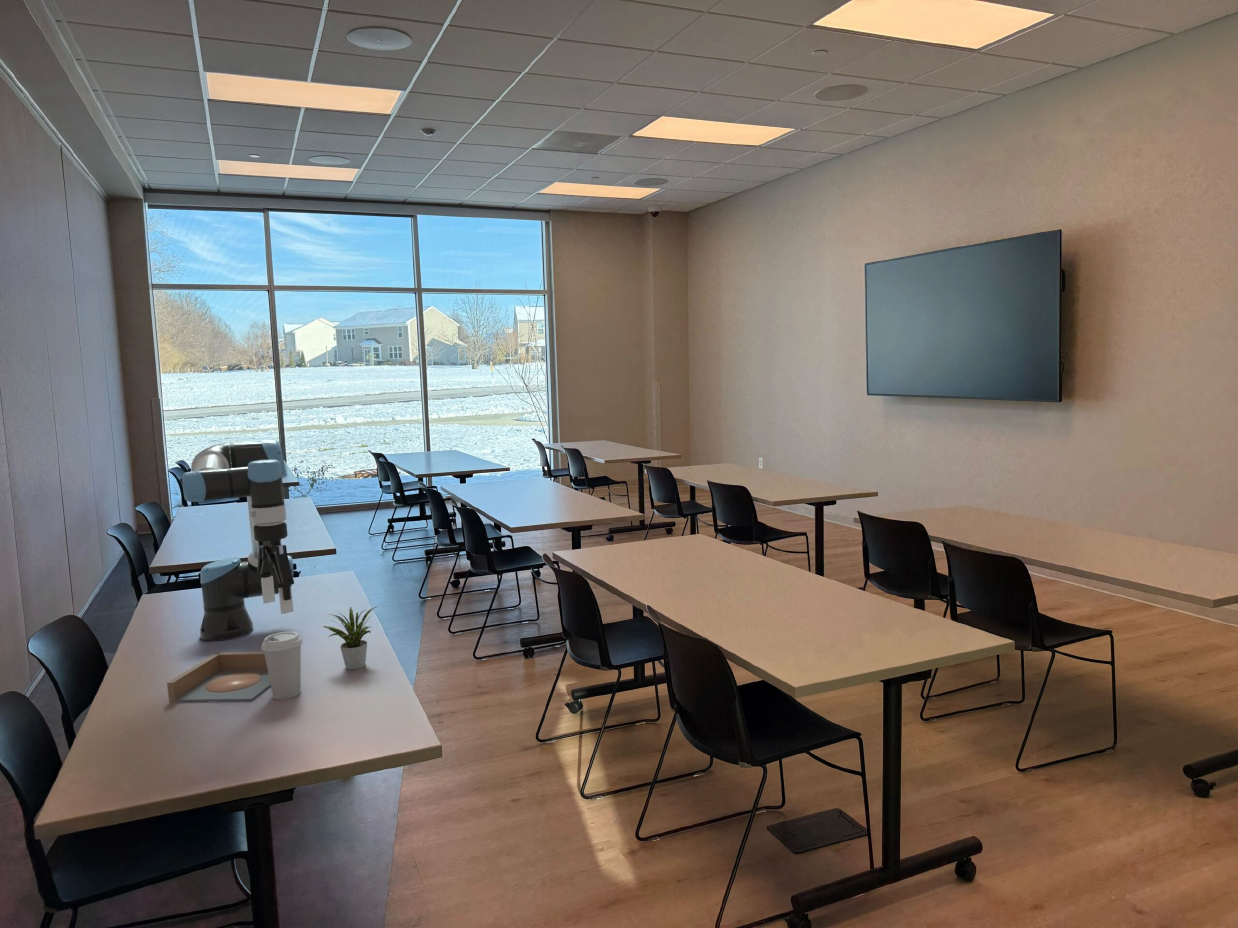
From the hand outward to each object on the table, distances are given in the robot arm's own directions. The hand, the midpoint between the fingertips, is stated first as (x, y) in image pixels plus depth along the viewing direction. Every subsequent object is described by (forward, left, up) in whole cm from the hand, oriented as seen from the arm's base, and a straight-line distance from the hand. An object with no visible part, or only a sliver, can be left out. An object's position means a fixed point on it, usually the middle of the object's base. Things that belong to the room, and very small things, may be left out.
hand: (278, 607), depth 202 cm
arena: (-7, -18, -22) cm, 30 cm away
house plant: (-21, +10, -23) cm, 32 cm away
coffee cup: (0, 0, -23) cm, 23 cm away
